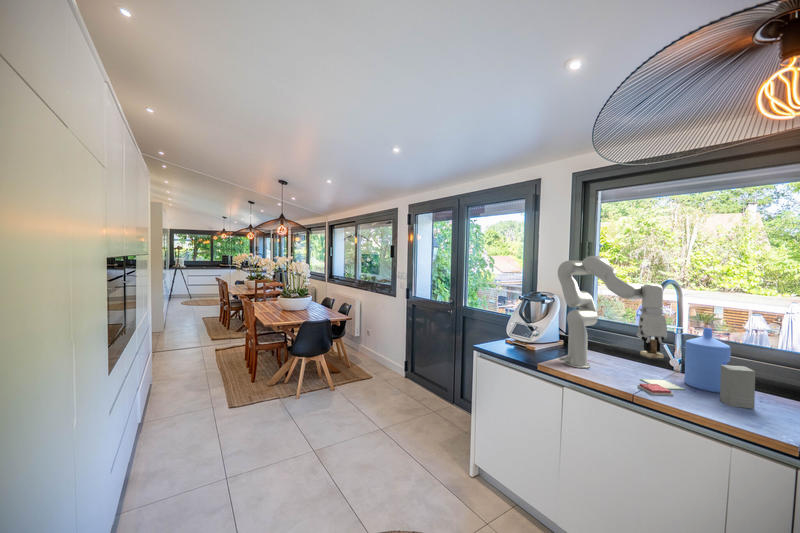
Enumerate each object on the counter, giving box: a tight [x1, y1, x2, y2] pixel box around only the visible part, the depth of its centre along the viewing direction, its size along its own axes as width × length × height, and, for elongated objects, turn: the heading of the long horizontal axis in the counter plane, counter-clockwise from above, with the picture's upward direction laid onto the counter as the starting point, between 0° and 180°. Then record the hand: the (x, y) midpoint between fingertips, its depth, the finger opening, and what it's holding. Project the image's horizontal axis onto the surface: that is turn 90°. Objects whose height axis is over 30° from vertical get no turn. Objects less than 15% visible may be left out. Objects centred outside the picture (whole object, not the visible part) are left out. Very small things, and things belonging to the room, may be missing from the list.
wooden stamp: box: [639, 338, 665, 360], centre depth 146 cm, size 6×6×8 cm
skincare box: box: [719, 364, 756, 410], centre depth 131 cm, size 8×7×16 cm
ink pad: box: [637, 383, 674, 397], centre depth 144 cm, size 9×9×2 cm
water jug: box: [683, 327, 732, 394], centre depth 151 cm, size 16×16×28 cm
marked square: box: [639, 378, 686, 391], centre depth 152 cm, size 12×12×1 cm
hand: (651, 350), depth 146 cm, fingers closed on wooden stamp, 3 cm apart
